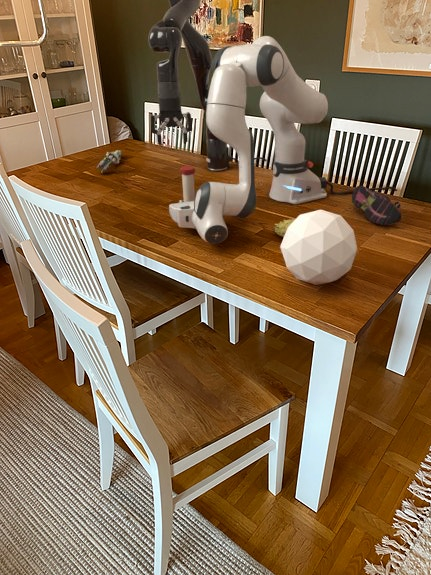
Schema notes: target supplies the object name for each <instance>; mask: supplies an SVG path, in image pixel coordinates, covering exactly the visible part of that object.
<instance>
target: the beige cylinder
mask: <svg viewBox="0 0 431 575" xmlns="http://www.w3.org/2000/svg"><path fill="white" fill-rule="evenodd" d="M181 181H182V195H183V196H182V198H183V199H182V200H184V202H191V201H194V199H195V194H196V190H195V189H196V188H195V173H194V174H191V175H183V174H181Z"/></svg>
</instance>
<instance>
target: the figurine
mask: <svg viewBox="0 0 431 575" xmlns="http://www.w3.org/2000/svg"><path fill="white" fill-rule="evenodd" d="M122 153H123V152H122V150H115V151H111V152H110V151H107V152H106V153H105V155H106V156H104V157H103V158H102V159H101V161H100V162H99V163H98V165H97V167H96V169H97V170H100V173H101V174H104V173H105V172H106V171H107V170H108V169H109V168H110V167H111V166H112V165H119V164H120V160H121V158H122V157H123V154H122Z"/></svg>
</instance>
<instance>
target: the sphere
mask: <svg viewBox="0 0 431 575" xmlns="http://www.w3.org/2000/svg"><path fill="white" fill-rule="evenodd" d="M294 219H295V220H294V222H293V223H292V224H291V225H290V226H289V227H288V228H287V231H286V233H285V235H284V237H282V238H283V239H282V241H281V243H280V246H279V248H280V251H281V253H282V257H283V260H284V262H285V266H286V268H287V270H289V272H290V273H291V274H292V275H293V277H294V278H295V279H296V280H299V281H302V282H306V283H309V284H312V285H315V286H318V285H323V284H328V283H332V282H335V281H338V280H339V279H340V278H342V276H345V274H346V273H348V272H350V270H351V269H352V266H353V263H354V260H355V258H356V255H357V251H358V246H357V240H356V235H355V230H354V229H353V228H352V227H351V225H349V223H348V222H347V221H346V220H345V219H344V217H343V216H342V215H340V214H338V213H334V212H331V211H327V210H324V209H318V210H313V211H309V212H306V213H301V214H299V215H298V216H297V217H296V218H294Z"/></svg>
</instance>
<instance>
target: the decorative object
mask: <svg viewBox="0 0 431 575" xmlns="http://www.w3.org/2000/svg"><path fill="white" fill-rule="evenodd" d="M295 219H296V218H292V219H283V221H279V223H274V227H273V229H274V233H276V234H277V236H279V237H282V238H284V236H285V233H286V231H287V228H288V227H289V226H290V225H291V224H292V223H293V222H294V220H295Z"/></svg>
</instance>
